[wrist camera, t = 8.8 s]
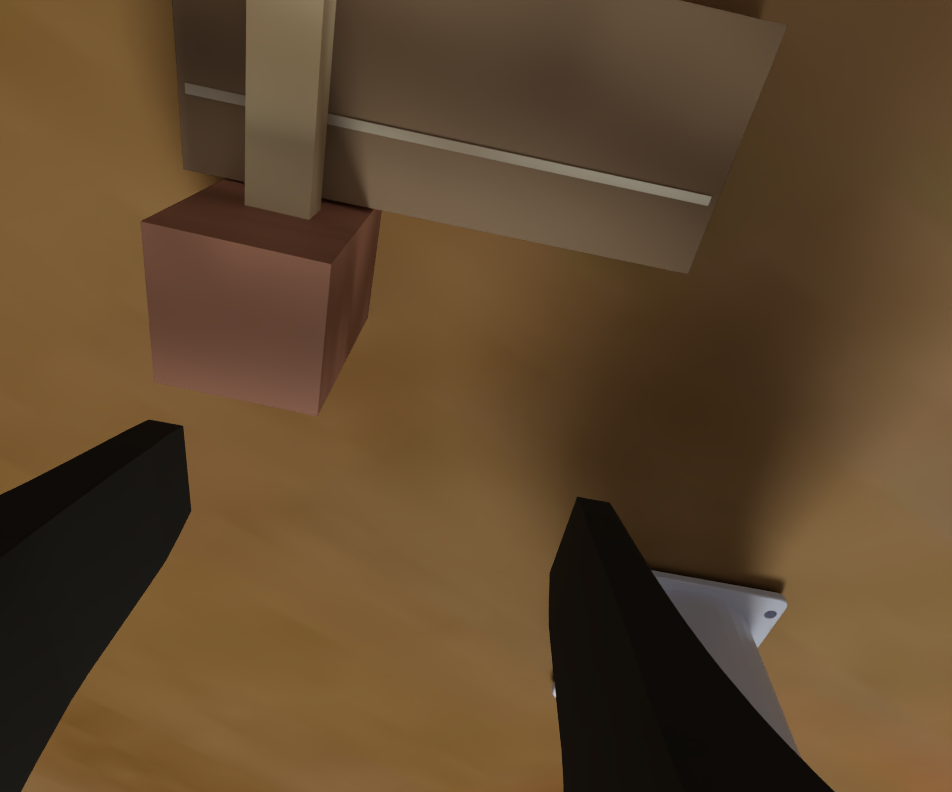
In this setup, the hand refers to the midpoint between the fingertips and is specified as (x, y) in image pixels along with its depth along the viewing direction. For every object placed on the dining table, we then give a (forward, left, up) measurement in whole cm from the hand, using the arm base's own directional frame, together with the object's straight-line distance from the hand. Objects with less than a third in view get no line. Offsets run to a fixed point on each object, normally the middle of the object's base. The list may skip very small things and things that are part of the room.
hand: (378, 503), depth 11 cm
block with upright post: (+4, +4, -10) cm, 11 cm away
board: (+6, 0, -10) cm, 12 cm away
